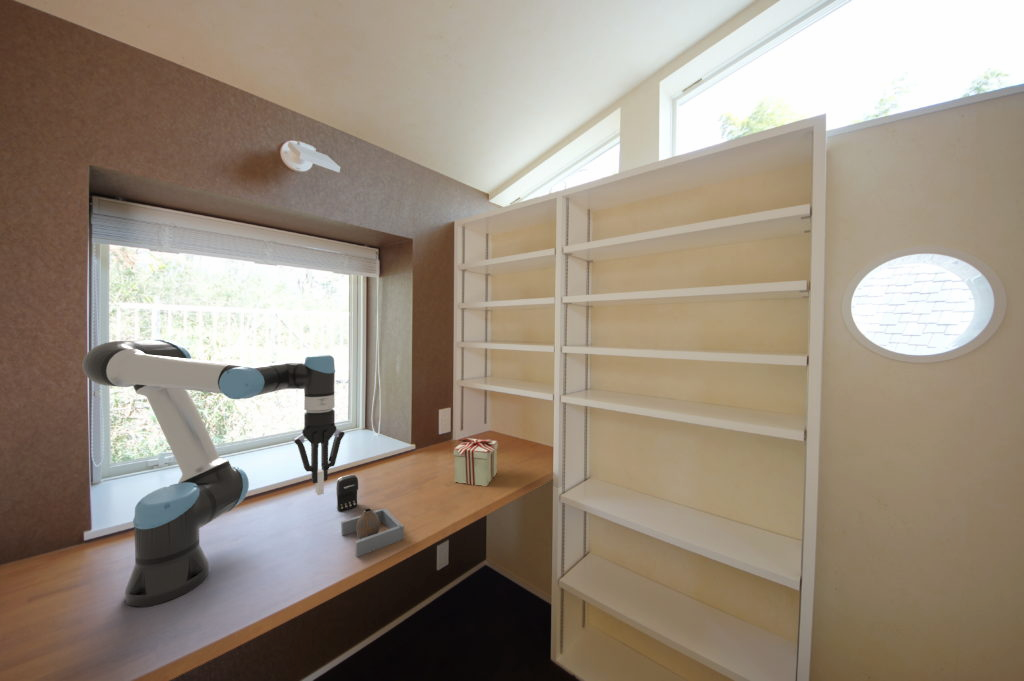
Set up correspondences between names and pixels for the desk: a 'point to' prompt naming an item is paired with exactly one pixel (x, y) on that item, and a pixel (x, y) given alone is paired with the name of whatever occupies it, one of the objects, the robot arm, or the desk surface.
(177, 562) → the robot arm
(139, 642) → the desk surface
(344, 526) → the box
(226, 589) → the desk surface
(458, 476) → the gift box
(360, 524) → the vase
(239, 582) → the desk surface
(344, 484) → the battery charger
